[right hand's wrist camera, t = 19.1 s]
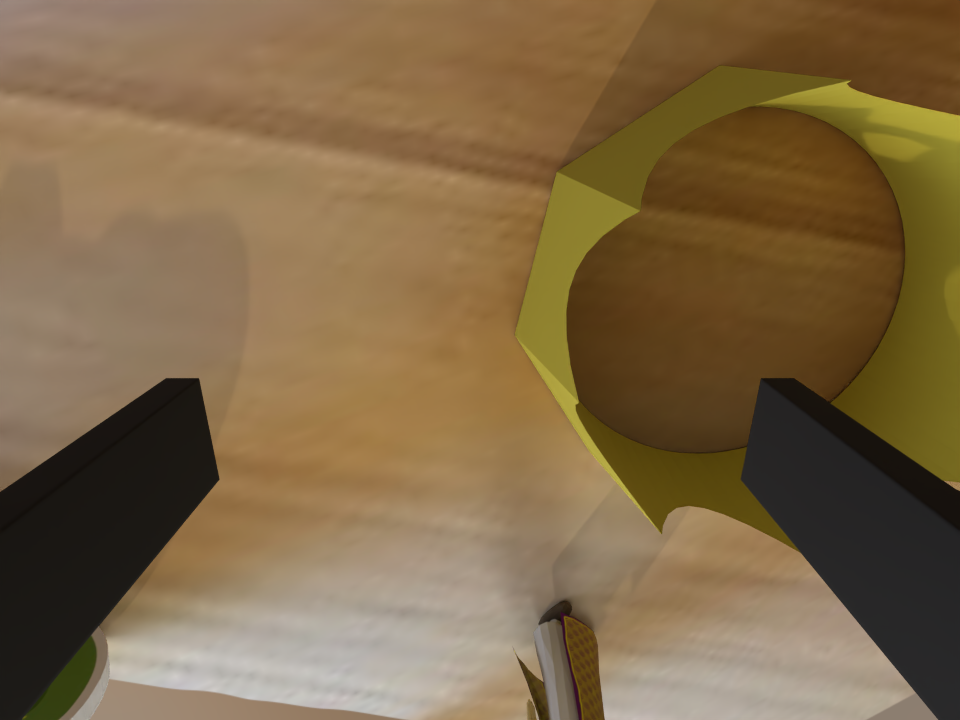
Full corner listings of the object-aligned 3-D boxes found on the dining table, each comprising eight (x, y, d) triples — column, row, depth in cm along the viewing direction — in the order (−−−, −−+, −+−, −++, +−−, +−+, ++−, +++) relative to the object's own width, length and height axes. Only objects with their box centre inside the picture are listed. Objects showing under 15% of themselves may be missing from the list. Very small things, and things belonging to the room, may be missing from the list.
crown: (916, 450, 50) (1087, 562, 36) (541, 504, 52) (564, 630, 38) (974, 15, 38) (1269, -72, 24) (479, 111, 40) (478, 83, 26)
